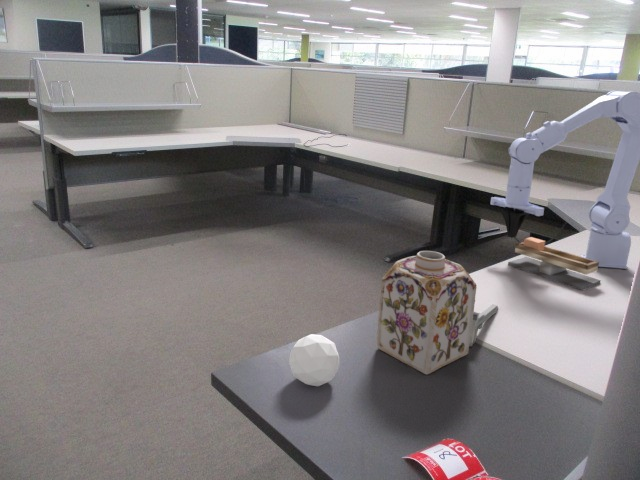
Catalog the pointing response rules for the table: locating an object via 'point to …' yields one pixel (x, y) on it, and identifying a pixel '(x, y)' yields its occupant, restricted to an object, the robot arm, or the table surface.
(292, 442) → the table surface
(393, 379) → the table surface
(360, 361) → the table surface
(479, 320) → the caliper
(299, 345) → the ball
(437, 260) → the decorative jar
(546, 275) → the balance beam
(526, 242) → the block
